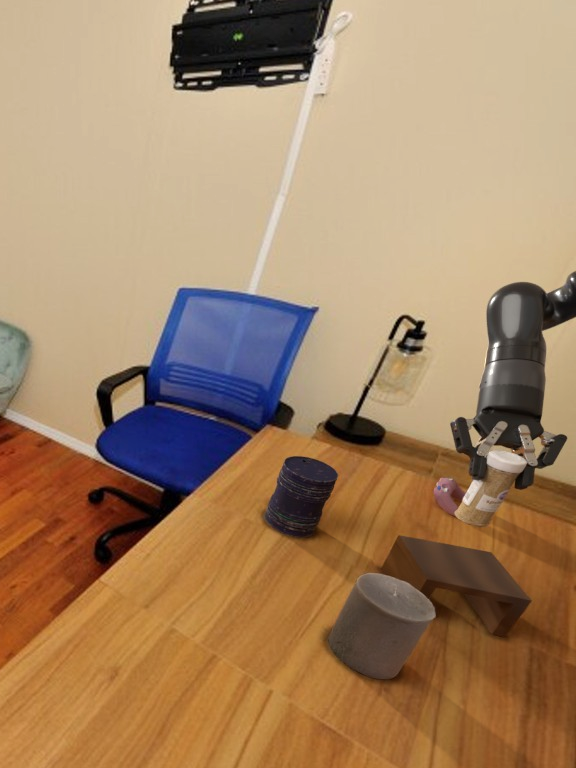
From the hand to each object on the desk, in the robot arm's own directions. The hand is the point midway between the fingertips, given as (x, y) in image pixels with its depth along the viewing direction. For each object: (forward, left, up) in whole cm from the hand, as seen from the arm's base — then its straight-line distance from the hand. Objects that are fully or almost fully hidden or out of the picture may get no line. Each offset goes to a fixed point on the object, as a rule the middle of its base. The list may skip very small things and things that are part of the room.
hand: (499, 483), depth 84 cm
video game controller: (-15, -34, -26) cm, 46 cm away
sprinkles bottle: (0, -2, -9) cm, 9 cm away
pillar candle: (+17, +20, -26) cm, 37 cm away
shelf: (0, +2, -26) cm, 26 cm away
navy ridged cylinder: (+21, -14, -26) cm, 36 cm away
